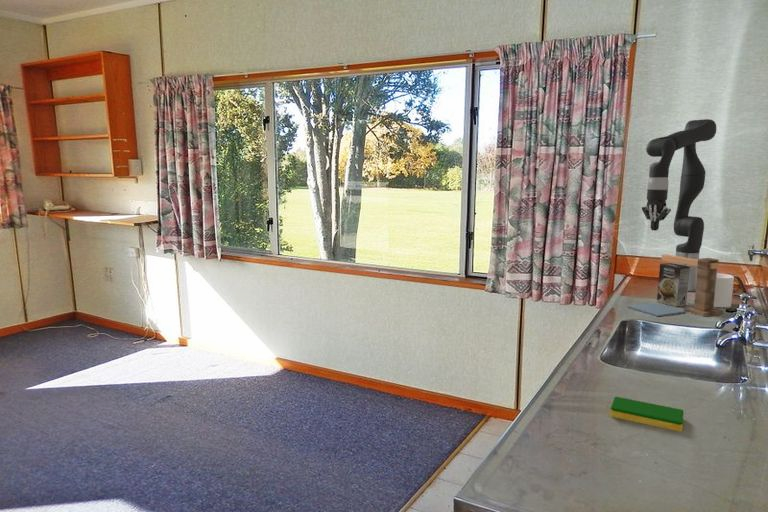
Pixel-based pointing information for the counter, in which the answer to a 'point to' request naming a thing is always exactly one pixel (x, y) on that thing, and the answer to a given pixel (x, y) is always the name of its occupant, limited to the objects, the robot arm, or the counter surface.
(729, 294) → the cup
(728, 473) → the counter surface
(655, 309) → the rubber mat
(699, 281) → the guide stand
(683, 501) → the counter surface
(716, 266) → the bar
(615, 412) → the dish sponge
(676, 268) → the coffee box
